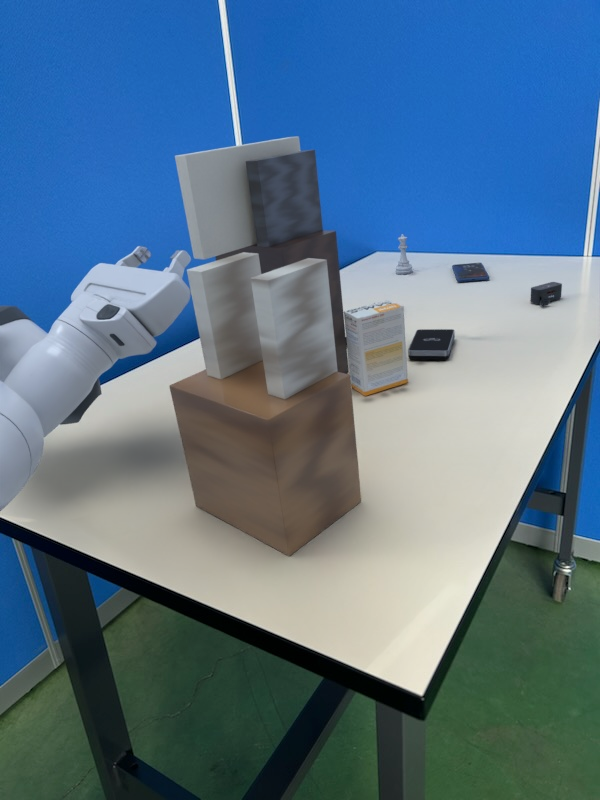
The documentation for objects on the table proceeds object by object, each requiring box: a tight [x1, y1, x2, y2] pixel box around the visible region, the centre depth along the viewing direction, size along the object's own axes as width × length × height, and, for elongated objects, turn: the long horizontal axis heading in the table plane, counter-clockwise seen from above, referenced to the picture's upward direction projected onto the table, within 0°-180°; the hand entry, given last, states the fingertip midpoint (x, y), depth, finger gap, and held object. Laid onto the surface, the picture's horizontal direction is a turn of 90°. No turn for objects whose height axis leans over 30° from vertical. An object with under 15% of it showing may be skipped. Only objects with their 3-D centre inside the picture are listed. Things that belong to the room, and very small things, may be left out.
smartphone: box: [451, 262, 491, 283], centre depth 155 cm, size 8×1×15 cm
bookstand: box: [215, 149, 350, 374], centre depth 101 cm, size 12×16×36 cm
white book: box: [174, 136, 301, 261], centre depth 93 cm, size 22×2×14 cm, turn 136°
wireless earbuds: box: [529, 281, 563, 307], centre depth 128 cm, size 5×7×3 cm, turn 115°
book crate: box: [168, 252, 362, 557], centre depth 68 cm, size 12×16×28 cm
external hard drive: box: [407, 328, 456, 361], centre depth 111 cm, size 7×11×2 cm, turn 162°
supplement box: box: [343, 299, 409, 397], centre depth 98 cm, size 8×5×13 cm, turn 114°
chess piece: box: [395, 233, 414, 276], centre depth 162 cm, size 4×4×10 cm
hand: (164, 251), depth 85 cm, fingers open, 8 cm apart
